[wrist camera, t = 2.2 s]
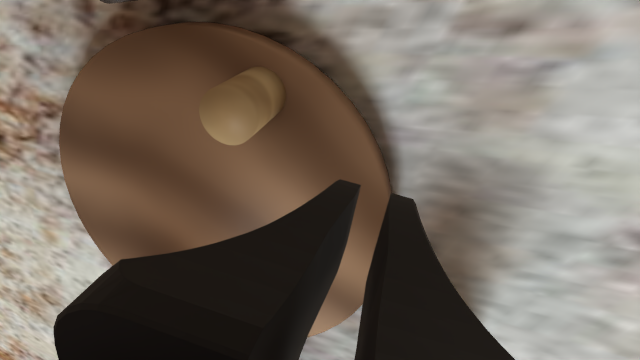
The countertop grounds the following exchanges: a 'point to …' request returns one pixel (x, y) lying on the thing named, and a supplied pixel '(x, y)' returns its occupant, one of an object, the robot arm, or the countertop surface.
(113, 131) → the disc
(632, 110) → the countertop surface
